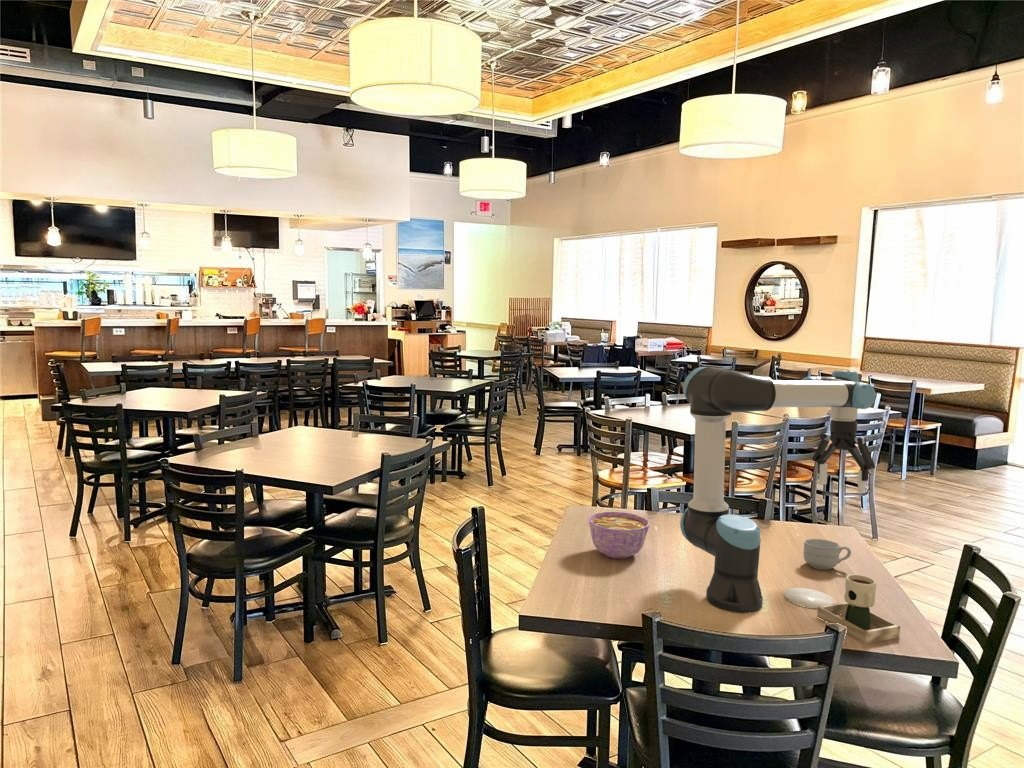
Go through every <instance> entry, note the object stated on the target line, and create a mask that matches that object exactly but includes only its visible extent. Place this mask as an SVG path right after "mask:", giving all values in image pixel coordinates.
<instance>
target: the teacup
mask: <svg viewBox="0 0 1024 768" xmlns="http://www.w3.org/2000/svg"><path fill="white" fill-rule="evenodd" d="M843 550H846V551H847V554H845V555H844V556H843V557H840V554H841V553H842V551H843ZM851 555H852V550H851V549H850V547H848V546H847V545H842V546H841V545H840V543H838V542H835V541H832V540H828V539H822V538H808V539H804V540H803V559H804V561H805V562H806V564H808V565H809V566H810V567H811V568H814V569H818V570H824V571H825V570H831V569H833V568H835V567H836V566H837V565H838V564H840V563H842V562H843V561H845V560H847V559H849V558H850V557H851Z"/></svg>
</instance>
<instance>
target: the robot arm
mask: <svg viewBox="0 0 1024 768" xmlns="http://www.w3.org/2000/svg"><path fill="white" fill-rule="evenodd" d="M682 392H683V396H684V398H685V399H686V401H687V402H688V403H689V404H690V405H689V411H690V412H689V413H690V415H691V416H692V417H693V418H694V424H695V425H694V427H695V428H694V457H693V458H694V461H693V462H694V463H693V464H694V465H693V498H692V499H691V500H690V501H688V503H687V508H685V509H684V513H682V514H681V516H680V521H679V522H680V523H679V525H680V526H679V527H680V531H681V534H682V536H683V537H684V538H685V539H686V540H687V542H689V543H690V544H692V545H693V546H694V547H695V548H698V549H700V550H702V551H704V552H706V553H708V554H709V555H711V556H713V557H714V563H713V564H714V566H713V568H714V569H713V574H712V577H711V578H710V582H709V584H708V585H707V588H706V593H705V599H706V601H707V602H708V603H709V604H710V605H712V606H713V607H715V608H716V609H720V610H723V611H726V612H731V613H736V612H737V613H738V614H750V613H749V612H751V613H755V611H756V612H757V611H758V612H759V611H760V610H761V609H762V608H763V604H764V602H763V599H764V598H763V594H762V590H761V586H760V583H759V579H758V577H759V575H758V574H759V573H758V572H759V564H760V563H759V562H760V561H759V560H760V551H761V540H762V539H761V530H760V529H761V528H760V526H759V525H758V524H757V523H756V522H755V521H753V520H752V519H750V518H748V517H746V516H740V514H739V515H738V514H730V513H729V512H730V511H729V510H730V505H729V504H728V503H727V502H726V501H725V500H724V499H725V498H724V496H725V469H726V468H725V467H726V466H725V464H726V463H725V462H726V461H725V460H726V434H727V433H726V432H727V431H726V426H727V423H726V422H727V420H728V419H729V418H730V417H731V416H732V413H747V412H767V411H770V410H771V409H772V408H830V419H832V420H831V421H830V429H829V430H830V432H831V434H830V433H827V432H826V433H822V434H821V440H820V441H819V444H818V446H817V448H816V450H815V452H814V454H813V456H812V458H811V460H812V461H813V462H816V463H817V473H818V474H819V479H818V481H819V482H818V485H821V486H822V485H827V484H828V463H827V461H828V460H829V459H830V457H832V455H833V454H834V453H835V452H836V450H842V451H847V452H849V453H850V455H851V456H852V457H853V459H854V461H855V462H856V464H857V465H858V466H859V468H860V469H858V471H857V473H858V474H857V476H858V477H857V492H860V493H862V492H866V490H867V487H866V486H867V482H868V481H869V471H870V470H872V469H873V470H874V469H875V468H876V465H875V463H874V460H873V457H872V455H871V452H870V450H869V448H868V445H867V438H866V437H865V436H862V437H861V436H859V437H857V432H858V422H857V419H858V410H866V409H869V408H870V407H872V405H873V404H874V402H875V400H876V391H875V388H874V386H872V385H871V384H869V383H865V382H863V381H859V374H858V372H857V371H856V370H833V371H832V373H831V376H816V375H812V376H806V377H803V378H802V379H801V380H796V379H795V380H794V379H793V380H789V379H787V380H783V379H777V380H776V379H772V378H771V377H770V376H763V375H754V374H748V373H744V372H742V371H741V372H739V371H736V370H730V369H724V368H719V367H715V366H700V367H696V368H695V369H693V370H692V371H691V372H690V373H689V374H687V376H686V378H685V380H684V382H683V386H682ZM830 441H831V443H830ZM829 443H830V444H829ZM856 444H857V445H856ZM827 447H828V448H827ZM759 609H760V610H759Z"/></svg>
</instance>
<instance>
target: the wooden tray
mask: <svg viewBox="0 0 1024 768" xmlns="http://www.w3.org/2000/svg"><path fill="white" fill-rule="evenodd" d="M848 604H849V603H847V602H846V601H844V602H839V603H838V602H837V603H834V604H832V605H826V606H820V607H818V609H817V611H816V612H817V613H816V617H819V618H821V619H823V620H824V621H827V622H828V623H839V624H841V625H843V626H846V627H847V634H846V635H847V636H850V637H851V638H853V639H855V640H856V639H857V640H856V641H858V640H859V642H860V641H861V642H860V643H862V642H863V643H868V644H872V643H871V642H873V643H877V642H876V641H878V642H882V641H887V640H888V641H889V640H892V639H898V638H900V633H901V625H899V624H897V623H895V622H894V621H891V620H889V619H887V618H886V617H883V616H881V615H880V614H877V613H875V612H873V611H871V610H870V626H871V625H872V626H874V627H875V628H873V629H864V630H863V629H861V628H859V627H858V626H856V625H854V624H852V623H850V622H848V621H846V620H845V618H843V617H841V615H840V614H844V615H846V611H847V606H848ZM837 615H838V616H837ZM819 618H818V619H819ZM821 619H820V620H821ZM824 621H823V622H824ZM828 623H827V624H828ZM863 643H862V644H863Z"/></svg>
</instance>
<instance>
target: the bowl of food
mask: <svg viewBox="0 0 1024 768" xmlns="http://www.w3.org/2000/svg"><path fill="white" fill-rule="evenodd" d="M588 524H589V530H590V536H591V539H592V543H593V546H594V548H595V549H596V550H598V551H599V552H600V553H602V554H603V555H605V556H606V555H607V557H609V558H611V557H612V558H611V559H616V558H624V559H628V558H629V557H631V556H634V555H636V554H638V553H639V552H640V551H641V549H642V548H643V546H644V544H645V542H646V538H647V535H648V532H649V528H650V521H649V519H647V518H645V517H644V516H641V515H638V514H635V513H632V512H623V511H601V512H597V513H594V514H592V515H590V516H588ZM627 557H628V558H627Z"/></svg>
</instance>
